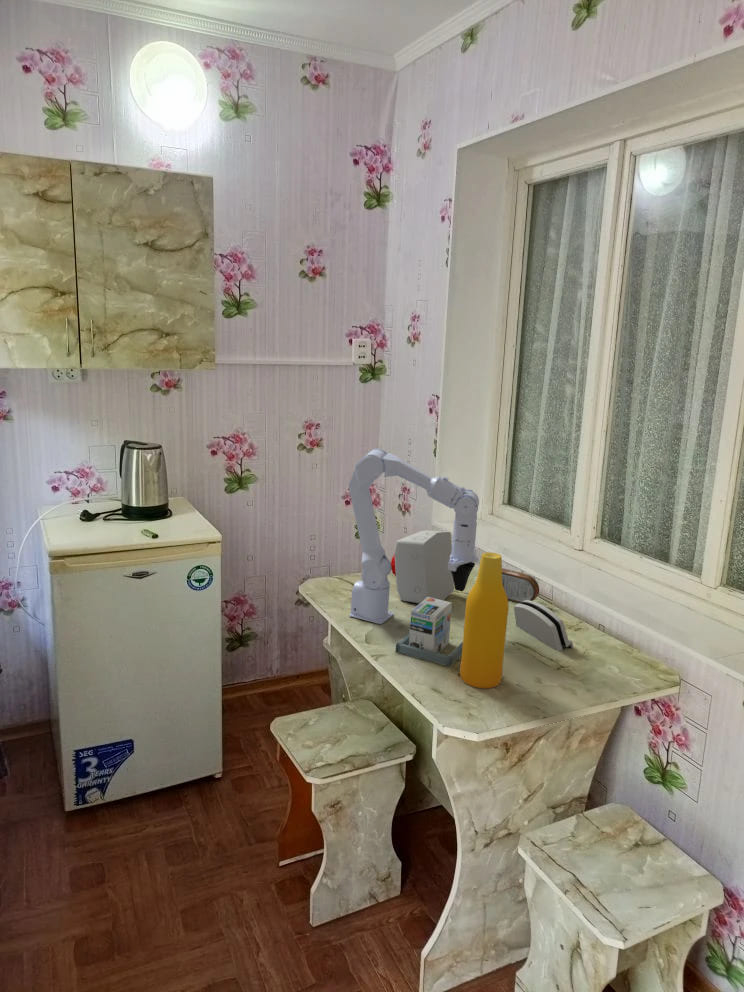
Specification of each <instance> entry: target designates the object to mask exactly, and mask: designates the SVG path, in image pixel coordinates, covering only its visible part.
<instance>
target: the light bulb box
mask: <svg viewBox="0 0 744 992" xmlns="http://www.w3.org/2000/svg"><path fill="white" fill-rule="evenodd" d="M452 607H453V603H452V601H451V602H450V601H446V600H439V599H434V598H431V597H427V598H426V599H425V600H423V601H422V602H421V603H417V605H416V606H415V607H413V608H412V609H411V610H410V624H409V633H410V636H409V646H413V647H417V648H420V649H424V650H428V651H432V652H435V653H439V654H440V652H441V651H443V650H444V648H445V647H447V645H449V644H450V633H451V632H450V631H451V620H452Z"/></svg>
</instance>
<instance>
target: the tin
mask: <svg viewBox="0 0 744 992" xmlns="http://www.w3.org/2000/svg"><path fill="white" fill-rule="evenodd" d="M502 584H503V587H504V590H505V592H506V595H507V599H508V601H511V602H515V603H517V604H520V603H521V602H522V601H525V600H530V601H534V600H536V599H537V598H538V596H539V593H540V586H539V583H538V580H536V579H535V577H534V576H532V575H530V574H527V573H523V572H518V571H515V570H511V569H507V568H504V567H502Z"/></svg>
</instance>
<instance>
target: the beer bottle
mask: <svg viewBox="0 0 744 992" xmlns="http://www.w3.org/2000/svg"><path fill="white" fill-rule="evenodd" d="M502 560H503V559H502V555H501V554H500V553H497V552H489V551H488V552H483V553H482V554H481V558H480V563H479V565H478V566H479V568H478V572H477V577H476V580H475V583H474V584H473V586H472V587H471V589H470V591H469V592H468V594H467V598H466V602H465V613H464V626H463V636H462V642H463V647H462V655H461V661H460V668H459V669H460V670H459V675H460V679H461V680H462V681H463V683H465V684H466V685H468V686H470V687H472V688H478V689H492V688H494V687H497V686H498V685H499V684H501V681H502V677H503V668H504V656H505V645H506V644H505V643H506V635H507V626H508V615H509V600H508V599H507V595H506V592H505V590H504V587H503V584H502V568H503V565H502V564H503V563H502Z"/></svg>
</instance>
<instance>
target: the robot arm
mask: <svg viewBox="0 0 744 992" xmlns="http://www.w3.org/2000/svg"><path fill="white" fill-rule="evenodd" d="M383 473H384V475H383V478H389V477H395V476H398V477H400V478H401V479H404V480H406V481H408V482H410V483H412V484H414V485H416V486H417V487H420V488H422V489H425V491H426V493H427V496H428V497H429V498H431V499H433V500H435V501H436V502H438V503H440V504H442V505H444V506H446V507H448V508H450V509H453V510H454V512H455V516H454V520H453V530H452V538H451V543H452V552H451V555H450V561H449V562H448V570H450V571H451V573H452V576H453V580H454V591H459V592H464V591H465V589H466V587H467V583H468V581H469V580H468V579H469V578H470V574H471V573H472V571H473V569H474V567H475V564H476V563H477V562H478V561H479V557H477V549H476V547H475V546H476V537H477V526H478V525H477V524H478V522H477V520H478V511H479V506H480V498H479V496H478V495H477V493H476V492H474V491H473V490H472V489H468V488H467V489H466V487H465V486H462V487H460V486H458V485H457V484H455V483H453V482H451V481H450V478H449V477H447V476H445V475H444V477H442V476H440V475H438V476H435V477H432V476H430V475H428V474H426V473H425V472H423V471H421V470H420V469H418V468H417V467H415V466H413V465H411V464H409V462H406V461H405V460H403V459H401V458H399V456H396V455H395V454H393V453H392V452H391V453H390V452H387V451H386V450H385V449H382V448H373V449H371V450H370V451H368V453H366V455H364V456H363V457H361V458H360V459H359V460H358V462H357V463H356V464H355V465H354V471H353V473H352V475H351V478H350V480H349V483H348V491H349V496H350V498H351V499H350V500H351V504H352V509H353V510H352V511H353V514H354V518H355V524H356V528H357V532H358V537H359V541H360V546H361V551H362V557H361V566H362V572H361V573H360V574H361V575H360V576H361V577H360V578H361V580H356V581H355V583H354V584H353V587H352V590H351V602H350V604H351V605H350V613H349V614H348V615H349V617H352V618H355V619H360V620H361V621H362V620H364V621H366V622H372V623H373V624H378V625H382V624H383V623H384V622H386V621H387V620H389V619H390V618H391V617H393V615H395V613H394V612H393V611H389V605H390V604H389V602H390V587H391V583H390V581H389V579H388V576H389V575H390V574H391V572H392V570H391V568H392V567H391V560H389V558H388V557H387V555H386V551H385V549H384V547H383V546H382V543H381V538H380V533H379V528H378V524H377V519H376V514H375V509H374V505H373V501H372V500H373V499H372V496H371V491H370V488H371V486H372V485H373V483H374V482H375V481H376V480H377V479H378V478H379V477H381V476H382V474H383Z"/></svg>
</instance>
